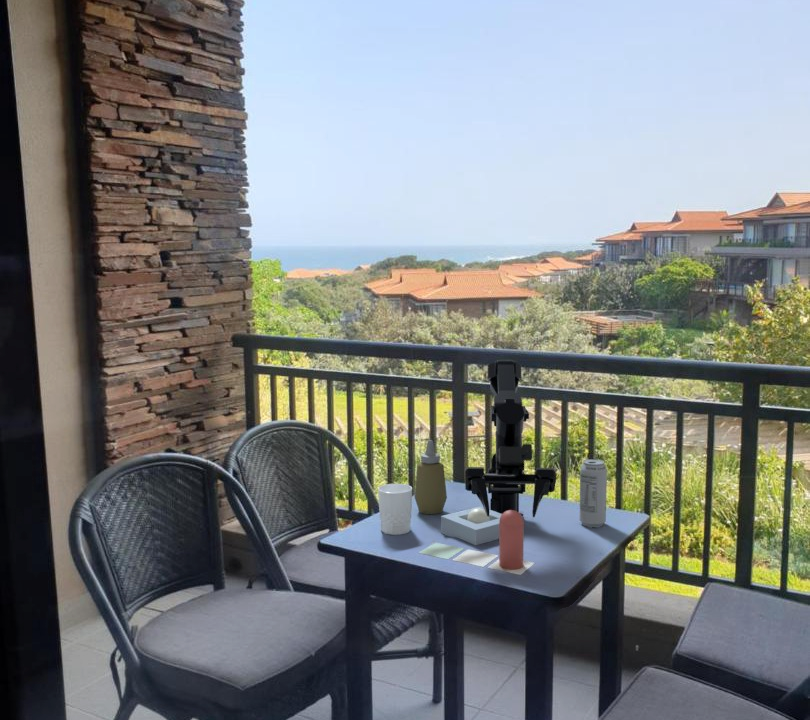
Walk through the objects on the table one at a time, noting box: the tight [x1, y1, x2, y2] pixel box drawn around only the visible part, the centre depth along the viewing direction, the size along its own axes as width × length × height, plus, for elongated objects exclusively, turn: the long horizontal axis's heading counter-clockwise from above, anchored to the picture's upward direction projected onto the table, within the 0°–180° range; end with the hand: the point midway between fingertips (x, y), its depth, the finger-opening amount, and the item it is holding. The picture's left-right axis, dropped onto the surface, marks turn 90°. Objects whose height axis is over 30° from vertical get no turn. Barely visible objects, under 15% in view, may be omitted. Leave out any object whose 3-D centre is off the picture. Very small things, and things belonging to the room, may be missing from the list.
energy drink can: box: [579, 458, 608, 528], centre depth 186 cm, size 6×6×15 cm
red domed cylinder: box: [498, 510, 525, 570], centre depth 160 cm, size 5×5×11 cm
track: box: [418, 541, 535, 576], centre depth 165 cm, size 25×8×1 cm, turn 58°
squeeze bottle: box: [413, 439, 448, 515], centre depth 197 cm, size 8×8×18 cm
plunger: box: [467, 508, 489, 524], centre depth 180 cm, size 5×5×6 cm
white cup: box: [377, 483, 413, 536], centre depth 183 cm, size 8×8×10 cm
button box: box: [440, 506, 502, 546], centre depth 180 cm, size 12×12×4 cm
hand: (511, 515), depth 162 cm, fingers open, 9 cm apart
